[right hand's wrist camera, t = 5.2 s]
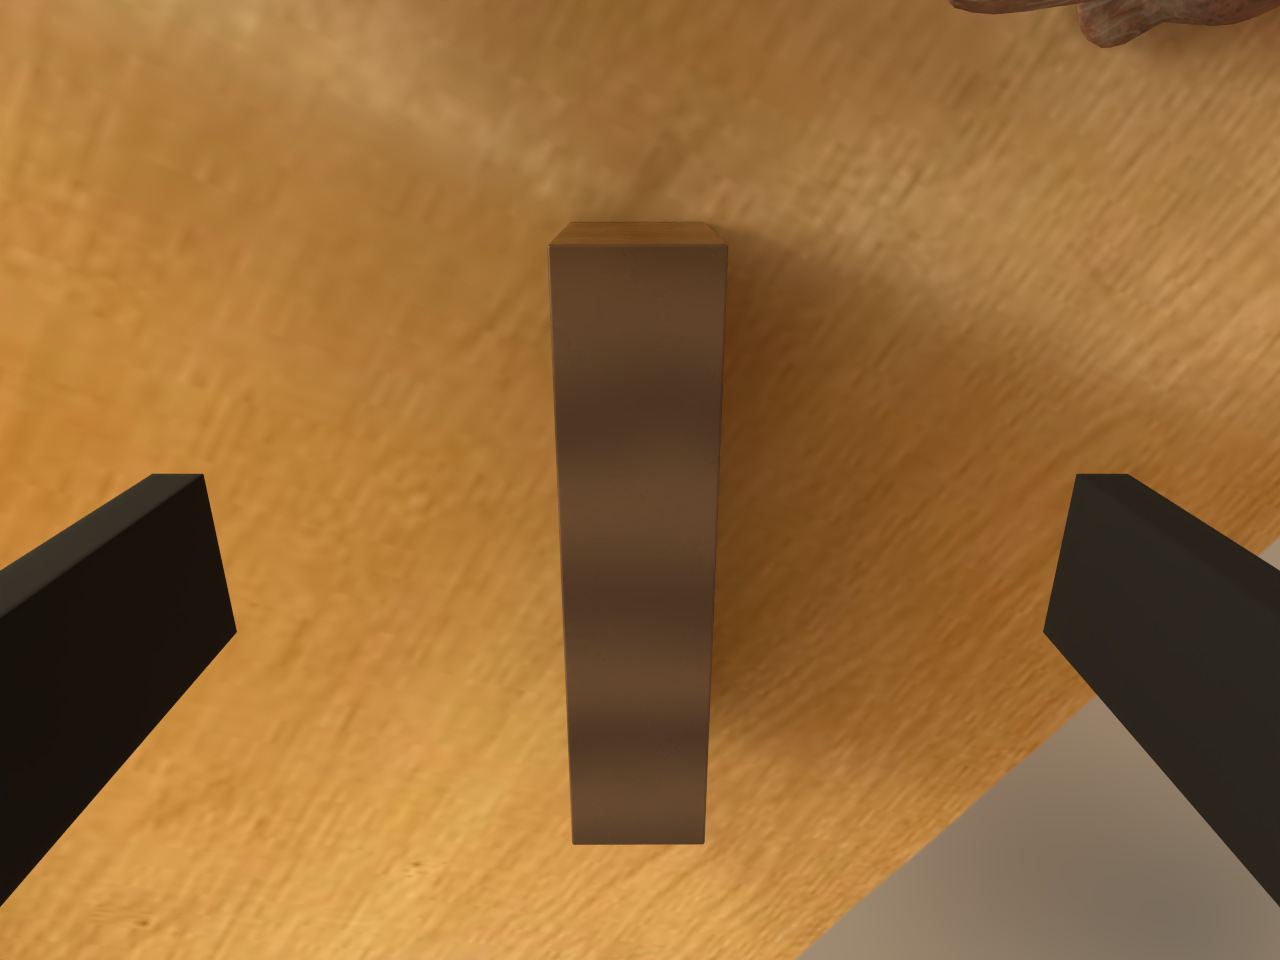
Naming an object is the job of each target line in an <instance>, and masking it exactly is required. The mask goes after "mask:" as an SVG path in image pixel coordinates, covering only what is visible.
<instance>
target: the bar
mask: <svg viewBox="0 0 1280 960" xmlns="http://www.w3.org/2000/svg"><path fill="white" fill-rule="evenodd" d="M727 262H728V245H727V244H726V243H725V242H724V241H723V240H722V239H721V238H720V237H719V236H718V235H717V234H716V233H715V232H714V231H713V230H712V229H711V228H710V227H709V226H708V225H707V224H706V223H705V222H571V223H569V224H568V225H567V226H566V227H565V228H564V229H563V230H562V232H561V233H560V234H559V235H558V236H557V237H556V238H555V239H554V240H553V241H552V242H551V243H550V244H549V245H548V270H549V294H550V318H551V343H552V367H553V391H554V415H555V439H556V463H557V487H558V511H559V535H560V559H561V583H562V607H563V631H564V656H565V680H566V704H567V728H568V752H569V776H570V800H571V824H572V843H573V844H574V845H643V844H704V842H705V817H706V792H707V766H708V741H709V716H710V691H711V665H712V640H713V615H714V590H715V565H716V539H717V514H718V489H719V464H720V438H721V413H722V388H723V363H724V337H725V312H726V287H727Z"/></svg>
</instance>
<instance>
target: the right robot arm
mask: <svg viewBox="0 0 1280 960" xmlns="http://www.w3.org/2000/svg"><path fill="white" fill-rule="evenodd" d="M236 632H237V630H236V626H235V621H234V616H233V611H232V607H231V602H230V597H229V593H228V588H227V583H226V578H225V574H224V569H223V564H222V560H221V555H220V550H219V545H218V541H217V536H216V531H215V526H214V522H213V517H212V512H211V508H210V503H209V498H208V493H207V489H206V484H205V479H204V475H203V474H151V475H150V476H148V477H147V478H145V479H144V480H142V481H140V482H139V483H137V484H136V485H134V486H133V487H131V488H129V489H128V490H126V491H125V492H123V493H122V494H120V495H118V496H117V497H115V498H114V499H112V500H111V501H109V502H107V503H106V504H104V505H103V506H101V507H100V508H98V509H96V510H95V511H93V512H92V513H90V514H89V515H87V516H85V517H84V518H82V519H81V520H79V521H78V522H76V523H74V524H73V525H71V526H70V527H68V528H67V529H65V530H63V531H62V532H60V533H59V534H57V535H56V536H54V537H52V538H51V539H49V540H48V541H46V542H45V543H43V544H41V545H40V546H38V547H37V548H35V549H34V550H32V551H30V552H29V553H27V554H26V555H24V556H23V557H21V558H19V559H18V560H16V561H15V562H13V563H12V564H10V565H8V566H7V567H5V568H4V569H2V570H1V571H0V907H1V905H2V904H3V903H4V902H5V901H6V900H7V898H8V897H9V896H10V895H11V894H12V893H13V891H14V890H15V889H16V888H17V887H18V886H19V885H20V883H21V882H22V881H23V880H24V879H25V878H26V876H27V875H28V874H29V873H30V872H31V871H32V869H33V868H34V867H35V866H36V865H37V864H38V862H39V861H40V860H41V859H42V858H43V857H44V855H45V854H46V853H47V852H48V851H49V850H50V849H51V847H52V846H53V845H54V844H55V843H56V842H57V840H58V839H59V838H60V837H61V836H62V835H63V833H64V832H65V831H66V830H67V829H68V828H69V826H70V825H71V824H72V823H73V822H74V821H75V819H76V818H77V817H78V816H79V815H80V814H81V813H82V811H83V810H84V809H85V808H86V807H87V806H88V804H89V803H90V802H91V801H92V800H93V799H94V797H95V796H96V795H97V794H98V793H99V792H100V790H101V789H102V788H103V787H104V786H105V785H106V783H107V782H108V781H109V780H110V779H111V778H112V776H113V775H114V774H115V773H116V772H117V771H118V770H119V768H120V767H121V766H122V765H123V764H124V763H125V761H126V760H127V759H128V758H129V757H130V756H131V754H132V753H133V752H134V751H135V750H136V749H137V747H138V746H139V745H140V744H141V743H142V742H143V740H144V739H145V738H146V737H147V736H148V735H149V734H150V732H151V731H152V730H153V729H154V728H155V727H156V725H157V724H158V723H159V722H160V721H161V720H162V718H163V717H164V716H165V715H166V714H167V713H168V711H169V710H170V709H171V708H172V707H173V706H174V704H175V703H176V702H177V701H178V700H179V699H180V697H181V696H182V695H183V694H184V693H185V692H186V691H187V689H188V688H189V687H190V686H191V685H192V684H193V682H194V681H195V680H196V679H197V678H198V677H199V675H200V674H201V673H202V672H203V671H204V670H205V668H206V667H207V666H208V665H209V664H210V663H211V661H212V660H213V659H214V658H215V657H216V656H217V655H218V653H219V652H220V651H221V650H222V649H223V648H224V646H225V645H226V644H227V643H228V642H229V641H230V639H231V638H232V637H233V636H234V635H235V634H236ZM1043 632H1044V634H1045V635H1046V636H1047V637H1048V638H1049V639H1050V641H1051V642H1052V643H1053V644H1054V645H1055V646H1056V648H1057V649H1058V650H1059V651H1060V652H1061V653H1062V655H1063V656H1064V657H1065V658H1066V659H1067V660H1068V661H1069V663H1070V664H1071V665H1072V666H1073V667H1074V668H1075V670H1076V671H1077V672H1078V673H1079V674H1080V675H1081V677H1082V678H1083V679H1084V680H1085V681H1086V682H1087V684H1088V685H1089V686H1090V687H1091V688H1092V689H1093V691H1094V692H1095V693H1096V694H1097V695H1098V696H1099V697H1100V699H1101V700H1102V701H1103V702H1104V703H1105V704H1106V706H1107V707H1108V708H1109V709H1110V710H1111V711H1112V713H1113V714H1114V715H1115V716H1116V717H1117V718H1118V720H1119V721H1120V722H1121V723H1122V724H1123V725H1124V726H1125V728H1126V729H1127V730H1128V731H1129V732H1130V734H1131V735H1132V736H1133V737H1134V738H1135V739H1136V740H1137V742H1138V743H1139V744H1140V745H1141V746H1142V747H1143V749H1144V750H1145V751H1146V752H1147V753H1148V754H1149V756H1150V757H1151V758H1152V759H1153V760H1154V761H1155V763H1156V764H1157V765H1158V766H1159V767H1160V768H1161V770H1162V771H1163V772H1164V773H1165V774H1166V775H1167V776H1168V778H1169V779H1170V780H1171V781H1172V782H1173V783H1174V785H1175V786H1176V787H1177V788H1178V789H1179V790H1180V791H1181V793H1182V794H1183V795H1184V796H1185V797H1186V798H1187V800H1188V801H1189V802H1190V803H1191V804H1192V805H1193V807H1194V808H1195V809H1196V810H1197V811H1198V813H1199V814H1200V815H1201V816H1202V817H1203V818H1204V819H1205V821H1206V822H1207V823H1208V824H1209V825H1210V826H1211V828H1212V829H1213V830H1214V831H1215V832H1216V833H1217V835H1218V836H1219V837H1220V838H1221V839H1222V840H1223V842H1224V843H1225V844H1226V845H1227V846H1228V847H1229V848H1230V850H1231V851H1232V852H1233V853H1234V854H1235V855H1236V857H1237V858H1238V859H1239V860H1240V861H1241V862H1242V864H1243V865H1244V866H1245V867H1246V868H1247V869H1248V871H1249V872H1250V873H1251V874H1252V875H1253V876H1254V877H1255V879H1256V880H1257V881H1258V882H1259V883H1260V885H1261V886H1262V887H1263V888H1264V889H1265V890H1266V891H1267V893H1268V894H1269V895H1270V896H1271V897H1272V898H1273V900H1274V901H1275V902H1276V903H1277V904H1278V905H1279V907H1280V571H1279V570H1278V569H1276V568H1275V567H1273V566H1272V565H1270V564H1268V563H1267V562H1265V561H1264V560H1262V559H1261V558H1259V557H1257V556H1256V555H1254V554H1253V553H1251V552H1250V551H1248V550H1246V549H1245V548H1243V547H1242V546H1240V545H1239V544H1237V543H1235V542H1234V541H1232V540H1231V539H1229V538H1228V537H1226V536H1224V535H1223V534H1221V533H1220V532H1218V531H1217V530H1215V529H1213V528H1212V527H1210V526H1209V525H1207V524H1206V523H1204V522H1202V521H1201V520H1199V519H1198V518H1196V517H1195V516H1193V515H1191V514H1190V513H1188V512H1187V511H1185V510H1184V509H1182V508H1180V507H1179V506H1177V505H1176V504H1174V503H1173V502H1171V501H1169V500H1168V499H1166V498H1165V497H1163V496H1162V495H1160V494H1158V493H1157V492H1155V491H1154V490H1152V489H1151V488H1149V487H1147V486H1146V485H1144V484H1143V483H1141V482H1140V481H1138V480H1136V479H1135V478H1133V477H1132V476H1130V475H1129V474H1077V475H1076V479H1075V484H1074V489H1073V493H1072V498H1071V503H1070V508H1069V512H1068V517H1067V522H1066V526H1065V531H1064V536H1063V541H1062V545H1061V550H1060V555H1059V560H1058V564H1057V569H1056V574H1055V578H1054V583H1053V588H1052V593H1051V597H1050V602H1049V607H1048V611H1047V616H1046V621H1045V626H1044V630H1043Z"/></svg>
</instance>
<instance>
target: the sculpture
mask: <svg viewBox="0 0 1280 960" xmlns="http://www.w3.org/2000/svg"><path fill="white" fill-rule="evenodd" d="M947 1H948V2H949V3H950V4H951V5H952V6H953V7H954V8H958V9H962V10H965V11H969V12H973V13H984V14H1003V13H1013V12H1024V11H1032V10H1037V9H1042V8H1049V7H1057V6H1064V5H1071V4H1078V7H1077V13H1078V20H1079V24H1080V27H1081V30H1082V32H1083V33H1084V35H1085V36H1086V38H1087V39H1088V40H1089V41H1091V42H1092V43H1094V44H1096V45H1098V46H1099V47H1101V48H1109V47H1114V46H1118V45H1121V44H1125V43H1127V42H1128V41H1130V40H1132V39H1134V38H1135V37H1137V36H1139V35H1141V34H1142V33H1144V32H1146V31H1148V30H1149V29H1151V28H1153V27H1155V26H1157V25H1158V24H1160V23H1162V22H1172V23H1184V24H1197V25H1207V26H1217V25H1228V24H1235V23H1238V22H1242V21H1245V20H1248V19H1251V18H1253V17H1256V16H1258V15H1261V14H1263V13H1266V12H1268V11H1270V10H1272V9H1274V8H1276V7H1278V6H1280V0H947Z"/></svg>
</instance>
